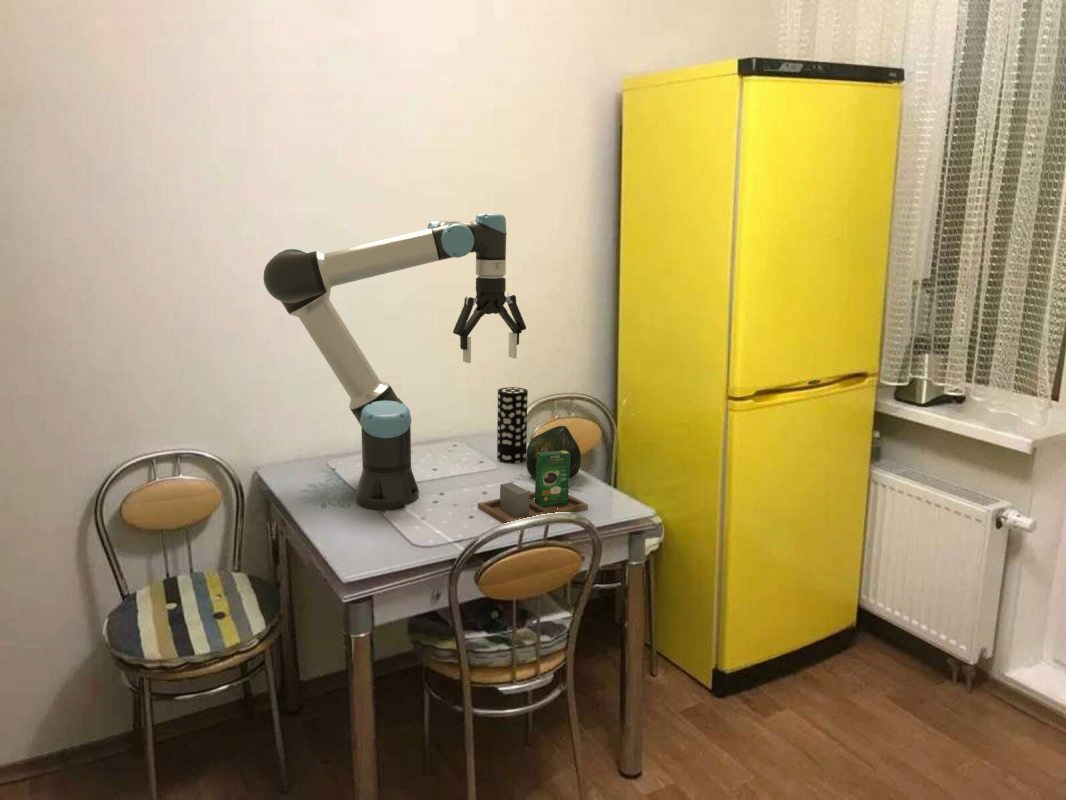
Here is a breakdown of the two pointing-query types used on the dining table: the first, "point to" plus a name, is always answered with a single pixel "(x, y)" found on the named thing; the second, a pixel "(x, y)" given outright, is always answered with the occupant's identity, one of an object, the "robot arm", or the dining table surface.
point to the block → (514, 500)
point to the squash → (554, 448)
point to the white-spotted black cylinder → (512, 425)
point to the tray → (530, 508)
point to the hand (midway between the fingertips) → (490, 360)
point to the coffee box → (552, 478)
